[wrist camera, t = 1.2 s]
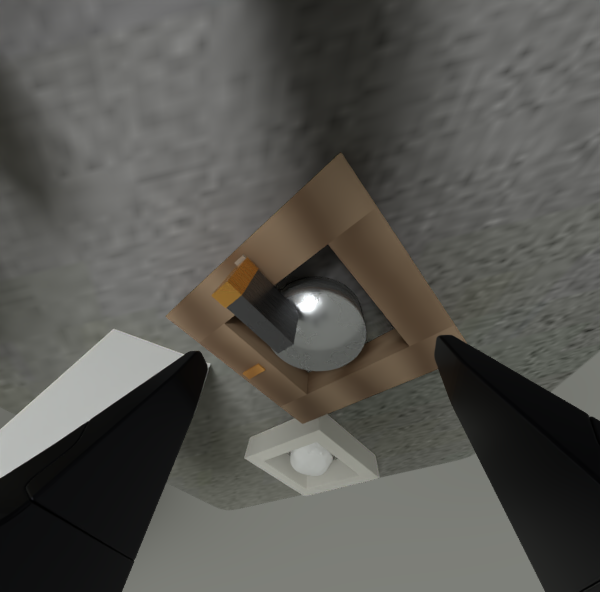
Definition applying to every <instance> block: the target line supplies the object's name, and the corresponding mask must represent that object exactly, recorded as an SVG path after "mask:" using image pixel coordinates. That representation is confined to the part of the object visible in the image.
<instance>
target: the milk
mask: <svg viewBox="0 0 600 592" xmlns="http://www.w3.org/2000/svg"><path fill="white" fill-rule="evenodd" d="M183 355H184V354H182V353H179V352H176V351H173V350H171V349H168V348H165V347H162V346H160V345H157V344H154V343H151V342H149V341H146V340H143V339H140V338H138V337H135V336H132V335H129V334H127V333H124V332H121V331H118V330H116V329H113V330H112V331H111V332H109V333H108V334H107V335H106V336H105V337H104V338H103V339H102V340H100V341H99V342H98V343H97V344H96V345H95V346H94V347H93V348H91V349H90V350H89V351H88V352H87V353H86V354H85V355H84V356H82V357H81V358H80V359H79V360H78V361H77V362H76V363H75V364H73V365H72V366H71V367H70V368H69V369H68V370H67V371H66V372H64V373H63V374H62V375H61V376H60V377H59V378H58V379H56V380H55V381H54V382H53V383H52V384H51V385H50V386H49V387H47V388H46V389H45V390H44V391H43V392H42V393H41V394H40V395H38V396H37V397H36V398H35V399H34V400H33V401H32V402H31V403H29V404H28V405H27V406H26V407H25V408H24V409H23V410H22V411H20V412H19V413H18V414H17V415H16V416H15V417H14V418H13V419H12V420H10V421H9V422H8V423H7V424H6V425H5V426H4V427H3V428H1V429H0V478H1V477H3V476H4V475H6V474H8V473H9V472H11V471H12V470H14V469H16V468H17V467H19V466H20V465H22V464H23V463H25V462H27V461H28V460H30V459H31V458H33V457H34V456H36V455H38V454H39V453H41V452H42V451H44V450H45V449H47V448H48V447H50V446H52V445H53V444H55V443H56V442H58V441H59V440H61V439H62V438H64V437H65V436H67V435H68V434H69V433H71V432H72V431H74V430H75V429H77V428H78V427H80V426H81V425H83V424H84V423H86V422H87V421H90V419H91V418H93V417H94V416H96V415H97V414H99V413H100V412H102V411H103V410H105V409H106V408H107V407H109V406H110V405H112V404H113V403H115V402H116V401H118V400H119V399H121V398H122V397H123V396H125V395H126V394H128V393H129V392H131V391H132V390H134V389H135V388H137V387H138V386H139V385H141V384H142V383H144V382H145V381H147V380H148V379H150V378H151V377H153V376H154V375H155V374H157V373H158V372H160V371H161V370H163V369H164V368H166V367H167V366H169V365H170V364H171V363H173V362H174V361H176V360H177V359H179V358H180V357H182V356H183ZM207 365H208V371H209V368H210V365H211V364H209V363H207ZM207 374H208V372H207ZM206 377H207V375H206ZM205 380H206V378H205ZM204 383H205V382H204ZM203 387H204V385H203ZM202 390H203V388H202ZM201 393H202V392H201ZM200 396H201V395H200ZM199 399H200V398H199ZM196 409H197V408H196ZM195 412H196V410H195ZM194 414H195V413H194Z"/></svg>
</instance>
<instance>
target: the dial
mask: <svg viewBox="0 0 600 592" xmlns="http://www.w3.org/2000/svg"><path fill="white" fill-rule="evenodd" d="M211 296H212V297H213V298H214V299H215V300H217V301H218V302H219V303H220V304H221V305H222V306H223V307H224V308H227V309H228V310H230V311H231V312H232V313H233V314H234V315H235V316H236V317H237V318H239V319H240V320H241V321H242V322H243V323H244V324H245V325H246V326H247V327H249V328H250V329H251V330H252V331H253V332H254V333H255V334H256V335H258V336H259V337H260V338H261V339H262V340H263V341H264V342H265V343H267V344H268V345H269V346H270V347H271V348H272V350H273V351H274V352H275V354H276V355H277V356H278V357H280V358H281V359H282V360H283V361H285V362H286V363H288V364H290V365H292V366H294V367H297V368H300V369H304V370H309V371H328V370H333V369H337V368H340V367H342V366H344V365H346V364H348V363H349V362H351V361H352V360H354V359H355V358H356V357H357V356H358V354H359V353H360V352H361V350H362V348H363V347H364V344H365V340H366V327H365V323H364V318H363V314H362V310H361V306H360V303H359V301H358V299H357V297H356V296H355V295H354V293H353V292H352V291H351V290H350V289H349V288H347V287H346V286H345V285H343V284H341V283H340V282H337V281H335V280H332V279H329V278H324V277H308V278H303V279H299V280H296V281H294V282H292V283H290V284H289V285H287V286H286V287H285V288H284V289H283V290H282V291H281V292H280V291H279V290H278V289H277V288H276V287H275V286H274V285H273V284H272V283H271V282H270V281H269V280H268V279H267V278H266V277H265V276H264V275H263V274H262V273H261V272H260V271H259V270H258V268H257V267H256V265H255V264H254V263H253V262H252V261H251V260H250V259H249V258H248V257H247V258H246V259H245V260H243V261H242V262H241V263H240V264H239V265H238V266H237V267H236V268H234V269H233V271H232V272H231V273H230V274H229V275H228V276H227V278H226V279H225V280H224V281H223V282H222V283H221V284H220V286H219V287H218V288H217V289H216V290H215V291H214V293H213V294H212V295H211Z"/></svg>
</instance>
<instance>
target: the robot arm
mask: <svg viewBox="0 0 600 592" xmlns="http://www.w3.org/2000/svg"><path fill="white" fill-rule="evenodd" d="M434 358H435V361H436V364H437V367H438V369H439V372H440V375H441V378H442V380H443V383H444V386H445V389H446V391H447V394H448V397H449V399H450V402H451V404H452V406H453V408H454V410H455V412H456V414H457V416H458V418H459V420H460V422H461V424H462V426H463V428H464V430H465V432H466V434H467V436H468V438H469V440H470V442H471V444H472V446H473V448H474V450H475V452H476V454H477V456H478V458H479V460H480V462H481V464H482V466H483V468H484V470H485V472H486V474H487V476H488V478H489V480H490V482H491V484H492V486H493V488H494V490H495V492H496V494H497V496H498V498H499V500H500V502H501V504H502V506H503V508H504V510H505V512H506V514H507V516H508V518H509V520H510V522H511V524H512V526H513V528H514V530H515V532H516V534H517V536H518V538H519V540H520V542H521V544H522V546H523V548H524V550H525V552H526V554H527V556H528V558H529V560H530V562H531V564H532V566H533V568H534V570H535V572H536V574H537V576H538V578H539V580H540V582H541V584H542V586H543V588H544V590H545V592H600V421H599V420H597V419H595V418H594V417H589V415H588V414H587V413H585V412H584V411H582V410H580V409H578V408H577V407H575V406H573V405H571V404H570V403H568V402H566V401H565V400H563V399H561V398H560V397H558V396H556V395H554V394H553V393H551V392H549V391H548V390H546V389H544V388H542V387H541V386H539V385H537V384H535V383H534V382H532V381H530V380H529V379H527V378H525V377H523V376H522V375H520V374H518V373H517V372H515V371H513V370H511V369H510V368H508V367H506V366H505V365H503V364H501V363H499V362H498V361H496V360H494V359H493V358H491V357H489V356H487V355H486V354H484V353H482V352H481V351H479V350H477V349H475V348H474V347H472V346H470V345H469V344H467V343H465V342H463V341H462V340H460V339H458V338H457V337H455V336H453V335H439V336H437V339H436V345H435V351H434ZM207 372H208V365H207V363H206V361H205V359H204V357H203V355H202V353H201V352H200V351H190V352H187V353H186V354H185V355H183V356H182V357H180V358H179V359H177V360H176V361H174V362H173V363H171V364H170V365H169V366H167V367H166V368H164V369H163V370H161V371H160V372H158V373H157V374H155V375H154V376H153V377H151V378H150V379H148V380H147V381H145V382H144V383H142V384H141V385H139V386H138V387H137V388H135V389H134V390H132V391H131V392H129V393H128V394H126V395H125V396H123V397H122V398H121V399H119V400H118V401H116V402H115V403H113V404H112V405H110V406H109V407H107V408H106V409H105V410H103V411H102V412H100V413H99V414H97V415H96V416H94V417H93V418H91V419H90V421H87V422H86V423H84V424H83V425H81V426H80V427H78V428H77V429H75V430H74V431H72V432H71V433H69V434H68V435H67V436H65V437H64V438H62V439H61V440H59V441H58V442H56V443H55V444H53V445H52V446H50V447H48V448H47V449H45V450H44V451H42V452H41V453H39V454H38V455H36V456H34V457H33V458H31V459H30V460H28V461H27V462H25V463H23V464H22V465H20V466H19V467H17V468H16V469H14V470H12V471H11V472H9V473H8V474H6V475H4V476H3V477H1V478H0V592H122V590H123V588H124V585H125V583H126V580H127V578H128V575H129V573H130V571H131V568H132V566H133V563H134V560H135V558H136V556H137V553H138V550H139V548H140V546H141V543H142V541H143V538H144V536H145V533H146V531H147V529H148V526H149V524H150V521H151V519H152V516H153V514H154V511H155V509H156V506H157V504H158V501H159V499H160V496H161V494H162V492H163V489H164V487H165V484H166V482H167V479H168V477H169V475H170V472H171V470H172V467H173V465H174V462H175V460H176V457H177V455H178V452H179V450H180V448H181V445H182V443H183V440H184V438H185V435H186V433H187V430H188V428H189V425H190V423H191V421H192V418H193V416H194V413H195V410H196V408H197V405H198V402H199V398H200V395H201V392H202V388H203V385H204V382H205V378H206V375H207Z"/></svg>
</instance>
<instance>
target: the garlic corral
mask: <svg viewBox="0 0 600 592" xmlns="http://www.w3.org/2000/svg"><path fill="white" fill-rule="evenodd" d="M315 442H317V443H318V444H320V445H321V446H322V447H324V448H325V449H326V450H327V451H329V452H330V453H331V454H333V455H334V456H335V457H337V458H338V459H335V460H333V461H332V462H331V464H330V466H329V468H328V470H327V471H326V472H325V473H324V474H322V475H320V476H310V475H304V474H301V473H299V472H297V471H296V470H295V469H294V468H293V467H292V465H291V462H290V455H289V454H287V452H290V451H293V450H296V449H298V448H301V447H304V446H307V445H310V444H312V443H315ZM244 458H245V459H246V460H248V461H249V462H251V463H253V464H254V465H256V466H257V467H259V468H261V469H262V470H264V471H265V472H267V473H269V474H270V475H272V476H273V477H275V478H277V479H278V480H280V481H281V482H283V483H284V484H286V485H288V486H289V487H291V488H292V489H294V490H296V491H297V492H299V493H300V494H302V495H304V496H309V495H313V494H317V493H321V492H325V491H330V490H333V489H338V488H342V487H346V486H350V485H354V484H358V483H362V482H366V481H371V480H375V479H379V472H378V466H377V460H376V455H375V454H374V453H372V452H371V451H370V450H369V449H368V448H366V447H365V446H364V445H363V444H362V443H361V442H359V441H358V440H357V439H356V438H355V437H354V436H352V435H351V434H350V433H349V432H348V431H347V430H345V429H344V428H343V427H342V426H341V425H340V424H338V423H337V422H336V421H335V420H334V419H332V418H331V417H330V416H329V415H328V414H326V415H324V416H321V417H319V418H316V419H314V420H311V421H309V422H306V423H304V424H302V423H300V422H299V421H298V420H297V419H295V418H294V419H292V420H289V421H287V422H284V423H282V424H280V425H277V426H275V427H273V428H270V429H268V430H266V431H263V432H261V433H259V434H256V435H254V436H252V437H250V439H249V443H248V446H247V450H246V453H245V457H244Z"/></svg>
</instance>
